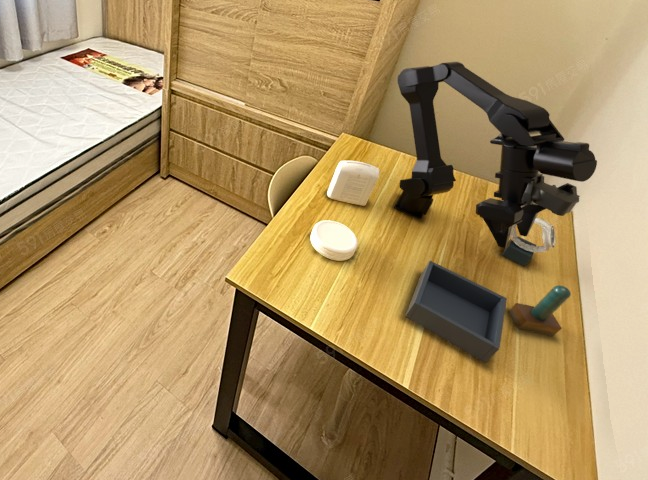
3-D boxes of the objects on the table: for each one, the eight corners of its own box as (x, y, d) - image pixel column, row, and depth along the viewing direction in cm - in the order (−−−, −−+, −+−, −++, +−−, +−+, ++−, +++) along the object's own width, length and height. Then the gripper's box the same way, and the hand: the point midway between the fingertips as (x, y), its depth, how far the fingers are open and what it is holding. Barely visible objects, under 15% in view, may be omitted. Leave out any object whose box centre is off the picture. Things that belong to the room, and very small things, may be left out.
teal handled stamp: (516, 330, 80) (552, 293, 73) (507, 312, 83) (540, 275, 76) (551, 337, 79) (591, 301, 72) (540, 319, 82) (577, 282, 75)
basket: (404, 317, 81) (414, 302, 78) (420, 275, 90) (429, 260, 87) (484, 364, 74) (499, 349, 71) (493, 313, 83) (507, 298, 80)
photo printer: (365, 197, 111) (381, 162, 104) (367, 208, 107) (383, 172, 100) (326, 189, 113) (338, 154, 106) (326, 199, 110) (340, 164, 103)
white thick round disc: (305, 227, 101) (308, 217, 99) (345, 230, 101) (350, 220, 99) (315, 259, 93) (319, 249, 91) (359, 263, 92) (364, 253, 90)
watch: (535, 271, 91) (564, 239, 85) (493, 250, 96) (517, 218, 90) (539, 258, 95) (568, 226, 88) (498, 238, 99) (522, 206, 93)
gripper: (552, 187, 69) (544, 270, 72) (594, 167, 78) (586, 243, 80) (476, 174, 79) (471, 248, 82) (521, 158, 87) (515, 225, 90)
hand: (513, 241), depth 83 cm, fingers open, 9 cm apart
